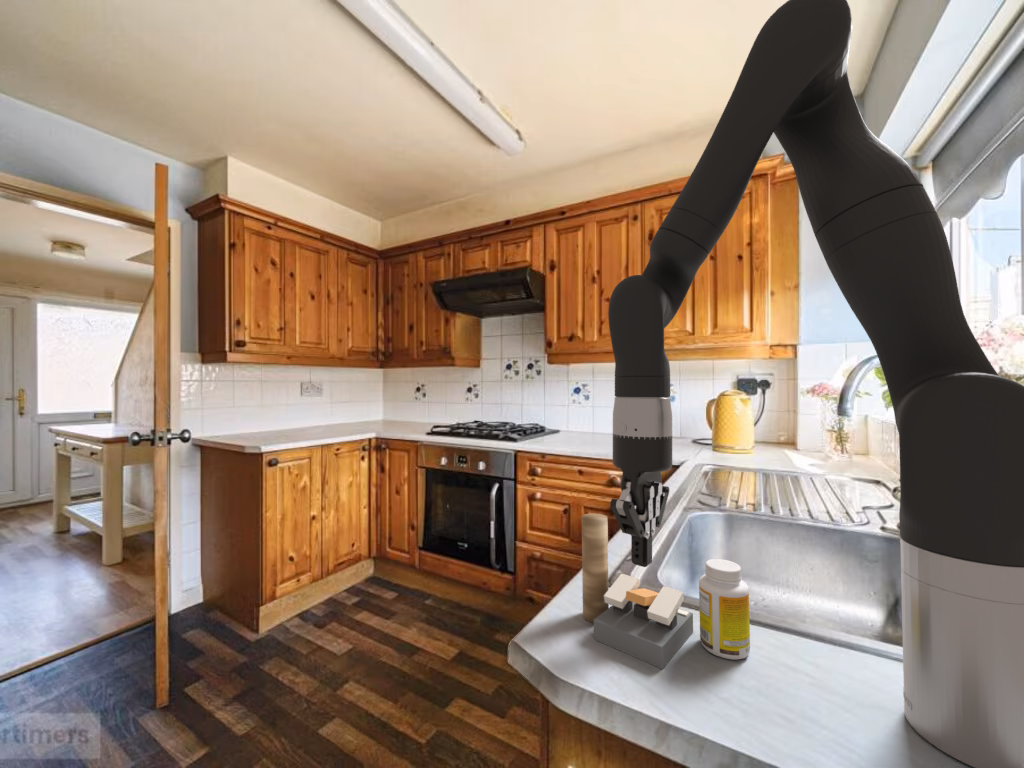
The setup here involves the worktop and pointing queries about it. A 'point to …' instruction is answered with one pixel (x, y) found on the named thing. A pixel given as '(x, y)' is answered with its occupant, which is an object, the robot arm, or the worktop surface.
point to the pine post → (594, 565)
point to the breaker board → (643, 633)
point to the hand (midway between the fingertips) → (641, 563)
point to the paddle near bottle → (665, 605)
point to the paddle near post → (621, 590)
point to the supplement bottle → (724, 610)
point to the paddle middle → (641, 596)
